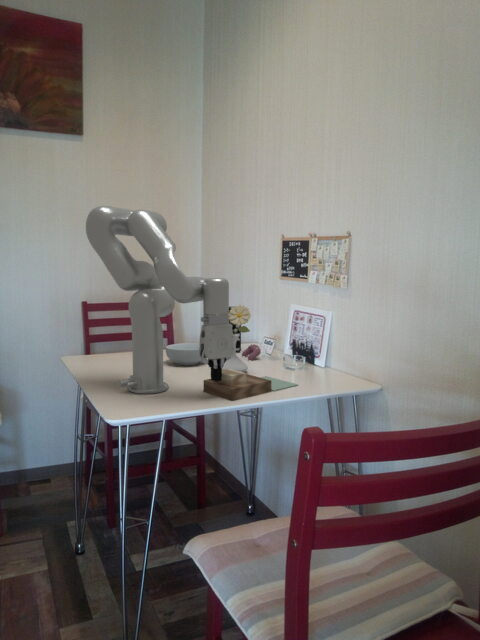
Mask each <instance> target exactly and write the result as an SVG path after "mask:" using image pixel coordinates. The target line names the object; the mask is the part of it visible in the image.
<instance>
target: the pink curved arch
mask: <svg viewBox="0 0 480 640" xmlns="http://www.w3.org/2000/svg"><path fill="white" fill-rule="evenodd" d="M261 350H262V349H261V348H260V346H258V345H257V344H254V343H253V344H250V345H248V347H247V348H246V349H245V350H243V351H241V356H242V357H243V356H245V357H247V360H248V361H249V360H251V361H253V360H255V359H256V358H258V357H259V356H260V355H261V353H262V352H261Z"/></svg>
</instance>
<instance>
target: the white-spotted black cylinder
mask: <svg viewBox="0 0 480 640" xmlns="http://www.w3.org/2000/svg"><path fill="white" fill-rule="evenodd" d="M234 307H235V306H229V312H230V310H231V308H234ZM229 324H231V327H232V329H233V330H234V331H233V330H232V331H233V334H234V333H235V332H236V331H237V329H238V327H239V326H238V325H236V324H233V323H230V320H229ZM240 327H242V325H240ZM236 334H237V335H240V336H239V337H238V339H237V341H236V352H239V351H241V352H242V332H241V331H240V330H239V329H238V331H237V332H236ZM239 353H240V352H239Z"/></svg>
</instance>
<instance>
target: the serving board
mask: <svg viewBox="0 0 480 640" xmlns="http://www.w3.org/2000/svg"><path fill="white" fill-rule="evenodd" d="M260 377H261V376H260ZM260 377H259V376H255V375H252V374H249V373H246V383H243V384H238V385H234V386H230V385H226V384H223V383H220V382H216V381H213V380H211V378H209V379H208V378H207V379H203V392H206V393H208V394H211V395H214V396H217V397H220V398H223V399H226V400H228V401H238V400H242V399H245V398H251V397H254V396H259V395H262V394H267V393H271V392H272V391H271V383H272V381H271V380H267V379H264V378H260Z"/></svg>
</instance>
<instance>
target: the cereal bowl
mask: <svg viewBox="0 0 480 640" xmlns="http://www.w3.org/2000/svg"><path fill="white" fill-rule="evenodd" d="M199 344H200V343H197V342H196V343H195V342H184V343H183V342H182V343H174V344H169V345H166V346H165V354H166V357H167V358H168V359H169V360H170V361H172V362H174V363H176V364H178V365H179V366H194V365H197V364H198V363H201V357H200V352H199Z"/></svg>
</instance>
